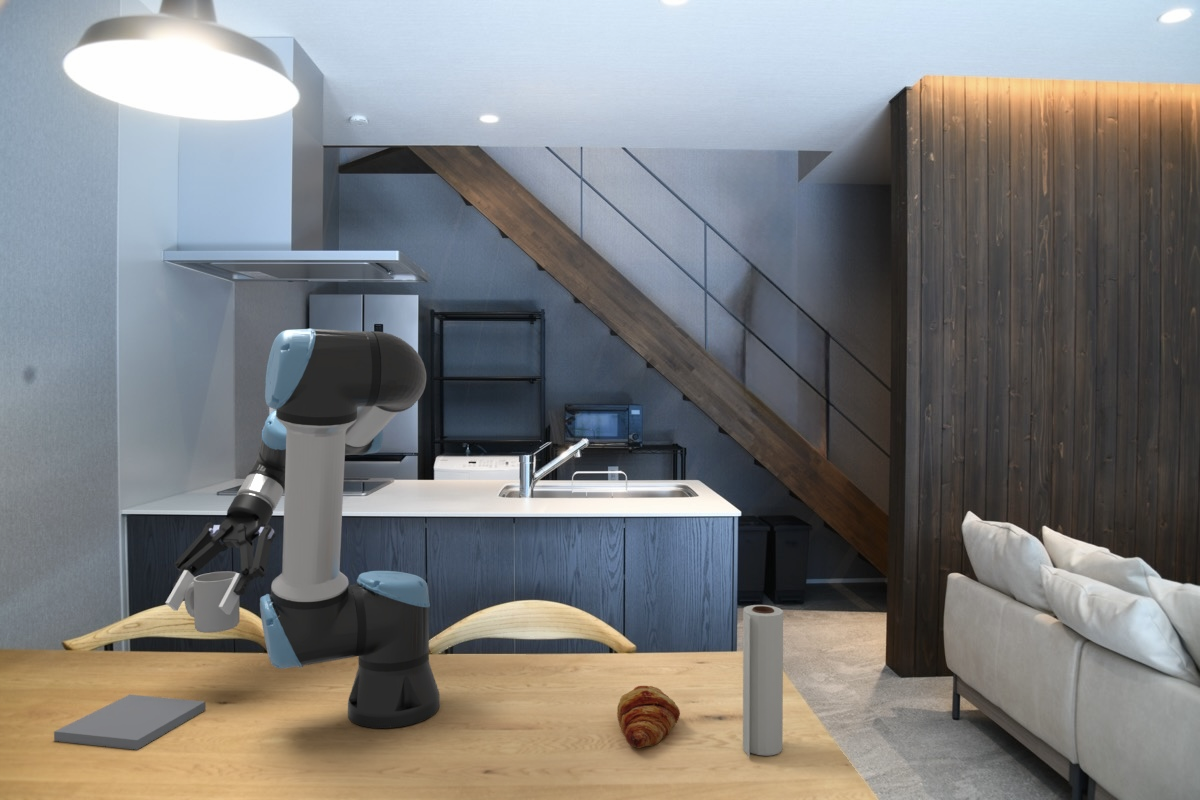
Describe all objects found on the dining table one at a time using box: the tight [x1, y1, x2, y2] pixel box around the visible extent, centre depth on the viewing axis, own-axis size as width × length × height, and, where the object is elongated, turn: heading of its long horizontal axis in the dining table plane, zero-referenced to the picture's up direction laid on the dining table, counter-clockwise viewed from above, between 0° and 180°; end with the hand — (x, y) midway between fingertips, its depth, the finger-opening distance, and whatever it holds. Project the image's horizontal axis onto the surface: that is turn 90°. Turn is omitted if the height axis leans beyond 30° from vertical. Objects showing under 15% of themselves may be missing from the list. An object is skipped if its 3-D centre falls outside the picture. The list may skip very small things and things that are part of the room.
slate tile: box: [53, 694, 207, 751], centre depth 129 cm, size 15×15×2 cm
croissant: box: [616, 685, 681, 749], centre depth 128 cm, size 21×10×8 cm, turn 170°
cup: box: [184, 571, 241, 634], centre depth 140 cm, size 7×10×9 cm
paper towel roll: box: [742, 604, 784, 760], centre depth 120 cm, size 7×6×21 cm
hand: (197, 608), depth 137 cm, fingers closed on cup, 10 cm apart
